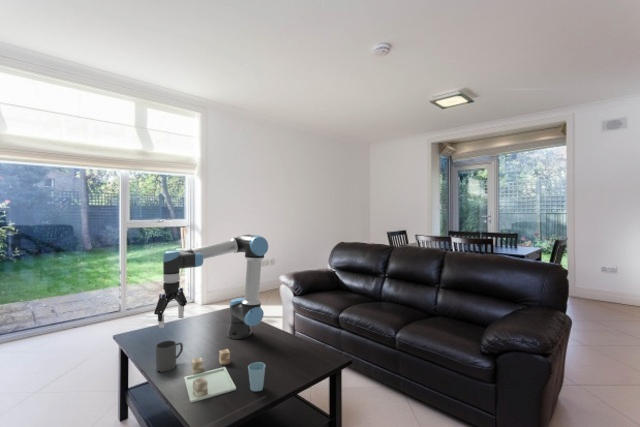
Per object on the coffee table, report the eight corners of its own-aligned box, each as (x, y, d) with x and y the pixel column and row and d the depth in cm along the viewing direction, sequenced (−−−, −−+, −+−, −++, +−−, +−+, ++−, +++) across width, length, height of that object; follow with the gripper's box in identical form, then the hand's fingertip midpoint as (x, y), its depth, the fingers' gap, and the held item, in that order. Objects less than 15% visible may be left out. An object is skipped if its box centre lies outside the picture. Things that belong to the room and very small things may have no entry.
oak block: (227, 359, 168) (227, 348, 168) (229, 363, 164) (229, 352, 164) (219, 361, 166) (219, 350, 165) (221, 365, 162) (221, 354, 162)
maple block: (203, 390, 139) (202, 377, 139) (207, 394, 135) (207, 381, 135) (192, 394, 135) (192, 380, 135) (197, 399, 132) (197, 385, 132)
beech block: (201, 369, 158) (201, 357, 158) (202, 373, 154) (202, 361, 154) (191, 371, 156) (191, 359, 156) (193, 375, 152) (193, 363, 152)
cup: (244, 388, 141) (244, 365, 141) (259, 382, 146) (260, 360, 146) (252, 396, 136) (253, 372, 135) (268, 389, 141) (268, 366, 140)
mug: (162, 374, 153) (162, 350, 153) (152, 368, 158) (152, 345, 158) (187, 362, 164) (187, 340, 164) (177, 358, 169) (177, 336, 169)
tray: (224, 369, 157) (225, 366, 157) (236, 391, 139) (236, 387, 139) (184, 380, 148) (184, 376, 148) (190, 404, 130) (190, 400, 130)
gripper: (182, 275, 173) (182, 313, 173) (145, 286, 149) (145, 330, 149) (193, 276, 171) (194, 315, 171) (158, 287, 147) (158, 332, 147)
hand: (171, 322), depth 160 cm, fingers open, 13 cm apart
